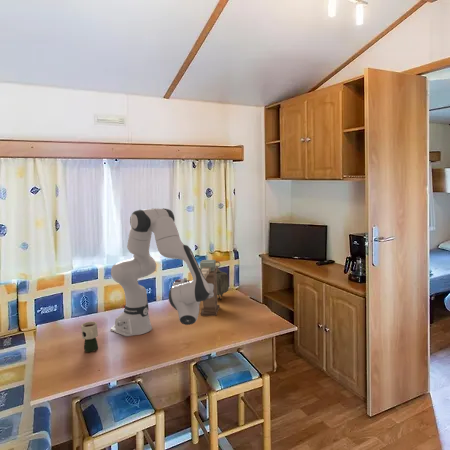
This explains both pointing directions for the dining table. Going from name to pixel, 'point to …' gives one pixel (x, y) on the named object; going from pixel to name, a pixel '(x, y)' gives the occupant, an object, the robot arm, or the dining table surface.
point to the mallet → (207, 267)
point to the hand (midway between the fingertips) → (194, 279)
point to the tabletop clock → (221, 282)
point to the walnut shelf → (211, 304)
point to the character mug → (89, 336)
